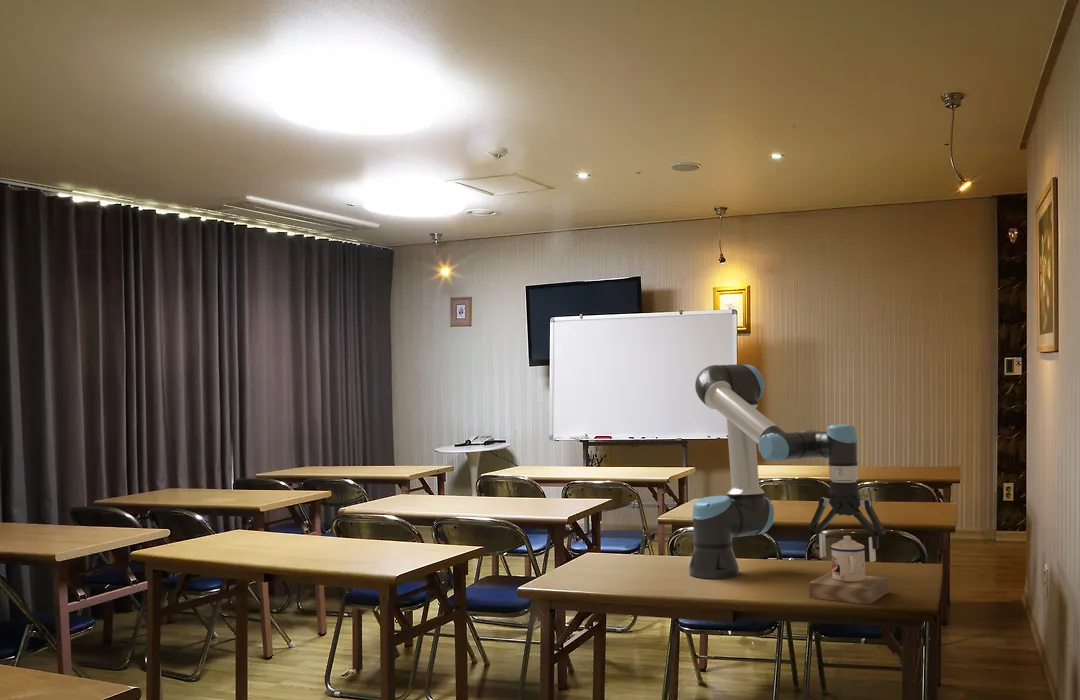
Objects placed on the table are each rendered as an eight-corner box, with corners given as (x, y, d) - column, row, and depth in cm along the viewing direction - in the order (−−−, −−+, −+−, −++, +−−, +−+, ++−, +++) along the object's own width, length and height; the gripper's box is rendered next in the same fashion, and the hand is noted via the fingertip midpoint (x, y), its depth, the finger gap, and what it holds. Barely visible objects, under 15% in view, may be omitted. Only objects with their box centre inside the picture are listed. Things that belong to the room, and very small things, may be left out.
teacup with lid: (828, 575, 252) (827, 533, 252) (862, 575, 251) (860, 533, 251) (836, 584, 240) (834, 540, 241) (872, 584, 239) (870, 540, 239)
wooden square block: (809, 597, 244) (809, 582, 244) (830, 586, 257) (829, 571, 257) (869, 604, 234) (868, 589, 234) (888, 592, 247) (887, 577, 247)
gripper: (794, 480, 251) (798, 557, 250) (886, 484, 236) (890, 565, 235) (804, 478, 257) (808, 552, 256) (894, 481, 242) (898, 560, 241)
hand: (847, 559), depth 246 cm, fingers open, 13 cm apart
